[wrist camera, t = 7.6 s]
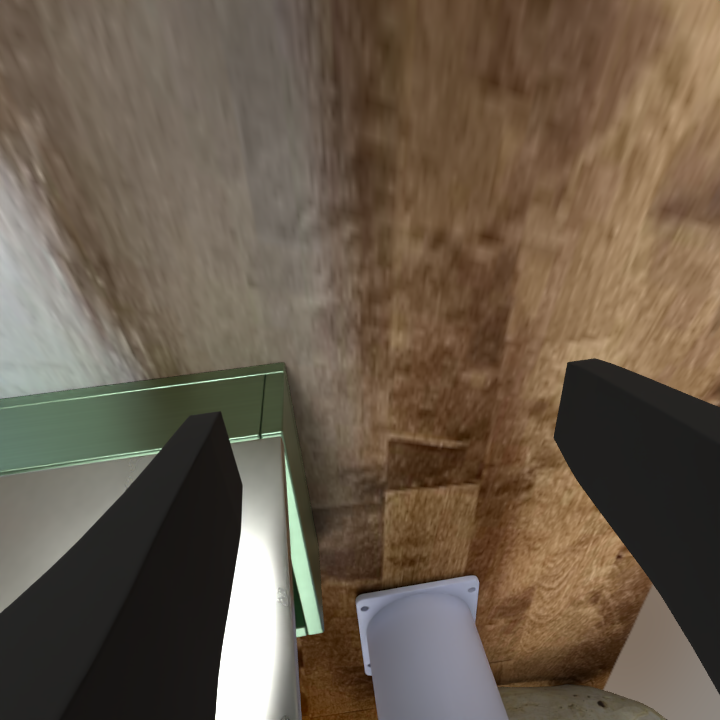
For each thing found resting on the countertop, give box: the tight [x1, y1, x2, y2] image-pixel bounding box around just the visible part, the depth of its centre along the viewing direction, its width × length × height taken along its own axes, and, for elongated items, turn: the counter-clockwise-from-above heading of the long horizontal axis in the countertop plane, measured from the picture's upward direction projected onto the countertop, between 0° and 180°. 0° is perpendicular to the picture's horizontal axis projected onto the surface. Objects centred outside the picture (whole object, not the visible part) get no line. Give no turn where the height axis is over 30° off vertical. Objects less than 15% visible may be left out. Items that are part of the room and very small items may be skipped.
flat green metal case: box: [0, 363, 324, 637], centre depth 20 cm, size 13×13×5 cm
